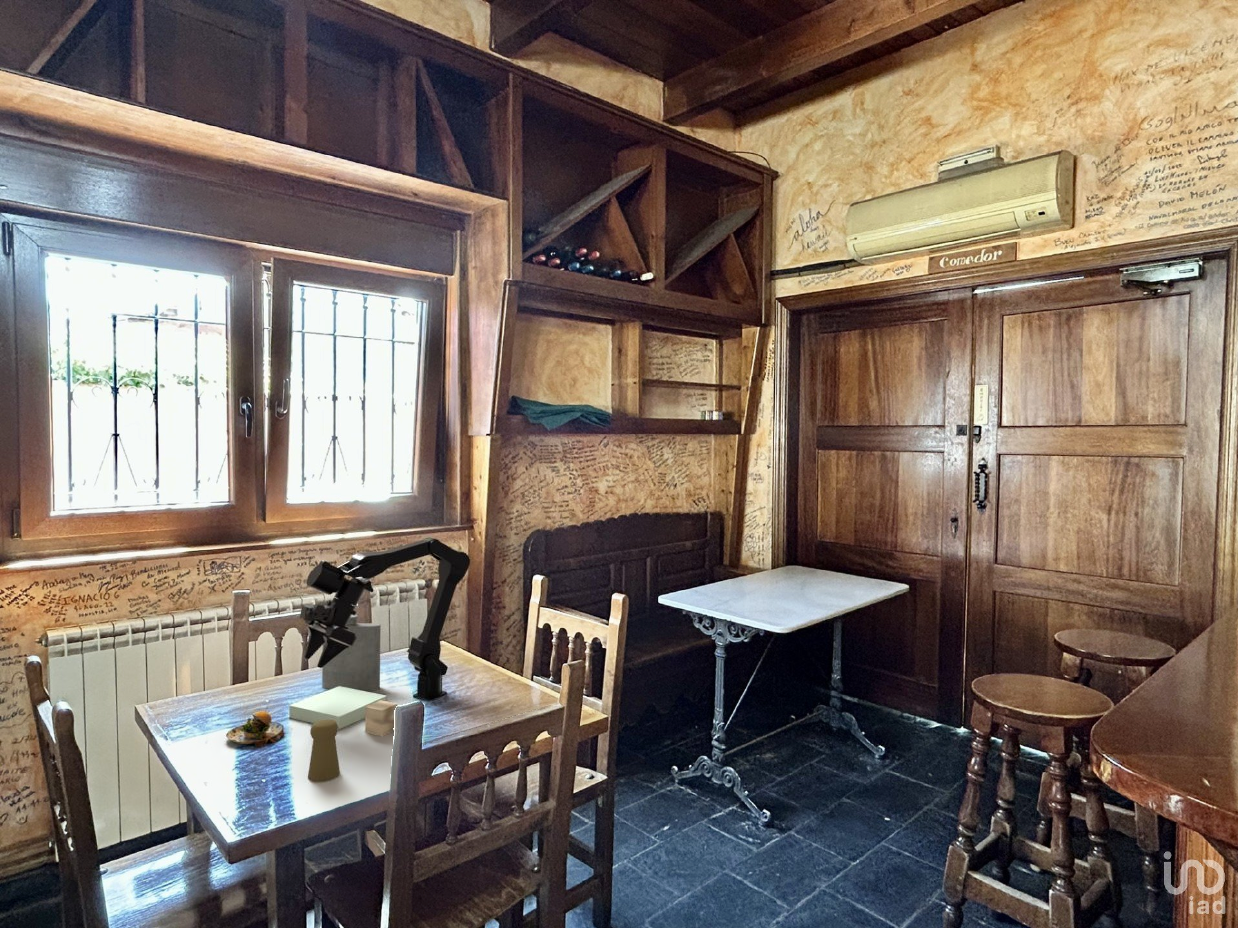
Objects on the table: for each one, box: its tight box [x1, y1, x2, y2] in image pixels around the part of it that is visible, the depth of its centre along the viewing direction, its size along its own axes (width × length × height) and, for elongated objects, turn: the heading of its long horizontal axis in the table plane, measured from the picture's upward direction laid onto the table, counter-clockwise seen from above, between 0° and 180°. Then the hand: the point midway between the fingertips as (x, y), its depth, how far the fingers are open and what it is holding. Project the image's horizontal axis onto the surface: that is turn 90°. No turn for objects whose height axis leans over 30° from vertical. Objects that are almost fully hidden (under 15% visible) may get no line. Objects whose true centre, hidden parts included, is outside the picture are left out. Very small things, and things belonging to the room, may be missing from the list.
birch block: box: [364, 700, 398, 737], centre depth 172 cm, size 5×5×6 cm
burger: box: [225, 705, 285, 748], centre depth 167 cm, size 12×12×8 cm
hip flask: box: [321, 614, 381, 691], centre depth 201 cm, size 16×4×20 cm, turn 86°
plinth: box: [288, 686, 388, 730], centre depth 183 cm, size 16×16×3 cm
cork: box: [307, 719, 341, 783], centre depth 149 cm, size 6×6×11 cm
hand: (312, 662), depth 176 cm, fingers open, 9 cm apart
